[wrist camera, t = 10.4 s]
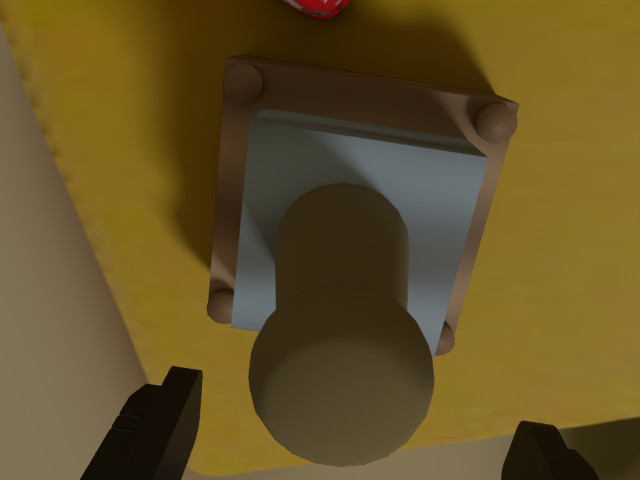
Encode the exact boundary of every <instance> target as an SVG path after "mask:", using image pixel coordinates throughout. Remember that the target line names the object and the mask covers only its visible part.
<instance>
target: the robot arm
mask: <svg viewBox="0 0 640 480" xmlns="http://www.w3.org/2000/svg"><path fill="white" fill-rule="evenodd" d="M202 379H203V373H202V370H195V369H189V368H182V367H176V366H172V367H171V368H170V370H169V372H168V374H167V376H166V378H165V379H164V381H163V383H162V385H161V386H158V385H152V384H145V385H144V386H143V387H141V388H140V389H139V390H137V391H136V392H135V393H133V394H132V395H131V396H130V397H129V398H128V400H127V402H126V403H125V405H124V406H123V408H122V410H121V412H120V415H119V416H118V417H117V418H116V420H115V422H114V423H113V425H112V428H111V429H110V430H109V432H108V433H107V435H106V437H105V438H104V440H103V442H102V443H101V445H100V447H99V448H98V450H97V452H96V453H95V455H94V457H93V458H92V460H91V462H90V464H89V465H88V467H87V468H86V470H85V472H84V474H83V475H82V477H81V479H80V480H181V478H182V475H183V473H184V470H185V468H186V465H187V462H188V459H189V457H190V454H191V451H192V449H193V446H194V443H195V440H196V436H197V432H198V427H199V420H200V407H201V393H202ZM501 480H599V478H598V476H597V474H596V473H595V471H594V469H593V467H592V466H590V464H589V463H588V462H586V460H585V459H584V458H583V457H582V456H581V455H580V454H579V453H578V452H577V451H576V450H572V449H568V448H567V447H566V444H565V443H564V441H563V439H562V437H561V435H560V433H559V431H558V429H557V428H556V427H555V426H554V425H549V424H543V423H536V422H530V421H521V422H520V423H519V425H518V427H517V429H516V432H515V435H514V438H513V440H512V443H511V446H510V448H509V451H508V454H507V456H506V459H505V462H504V465H503V468H502V475H501Z"/></svg>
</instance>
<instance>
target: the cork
mask: <svg viewBox="0 0 640 480" xmlns="http://www.w3.org/2000/svg"><path fill="white" fill-rule="evenodd" d="M408 276H409V241H408V231H407V227H406V225H405V223H404V221H403V219H402V217H401V215H400V213H399V211H398V210H397V209H396V208H395V207H394V206H393V205H392V204H391V203H390V202H389V201H388V200H387V199H386V198H385V197H384V196H383V195H381V194H379V193H377V192H375V191H373V190H371V189H369V188H367V187H365V186H361V185H354V184H348V183H336V184H330V185H323V186H319V187H317V188H315V189H313V190H311V191H309V192H307V193H305V194H303V195H301V196H300V197H299V198H298V199H297V200H296V201H295V202H294V203H293V204H292V205H291V206H290V207H289V208H288V209H287V210H286V212H285V214H284V216H283V218H282V220H281V222H280V224H279V225H278V227H277V235H276V242H275V288H276V310H275V311H274V312H273V313H272V314H271V315H270V316H269V317H268V318H267V320H266V321H265V323H264V325H263V327H262V329H261V331H260V333H259V334H258V336H257V338H256V340H255V343H254V346H253V349H252V352H251V359H250V367H249V376H248V378H249V387H250V392H251V396H252V400H253V404H254V408H255V412H256V413H257V415H258V416H259V418H260V419H261V421H262V422H263V424H264V425H265V426H266V428H267V429H268V431H269V432H270V434H271V435H272V436H273V438H274V439H275V440H276V441H277V442H278V443H280V444H281V445H282V446H284V447H285V448H286V449H287V450H289V451H290V452H291V453H292V454H294V455H297V456H299V457H301V458H304V459H306V460H309V461H311V462H313V463H316V464H323V465H331V466H337V467H345V466H355V465H365V464H368V463H371V462H373V461H376V460H379V459H382V458H385V457H387V456H389V455H390V454H391V453H393V452H394V451H396V450H397V449H398V448H400V447H401V446H403V445H404V444H405V443H406V442H407V441H408V440H409V439H410V437H411V436H412V435H413V433H414V432H415V431H416V429H417V428H418V427H419V425H420V424H421V423H422V421H423V420H424V418H425V417H426V415H427V412H428V408H429V405H430V401H431V398H432V394H433V388H434V372H433V362H432V355H431V351H430V348H429V345H428V343H427V341H426V339H425V337H424V335H423V333H422V331H421V329H420V327H419V325H418V323H417V321H416V320H415V319H414V318H413V317H412V316H411V315H410V313H409V312H407V308H408Z"/></svg>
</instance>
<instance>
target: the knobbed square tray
mask: <svg viewBox="0 0 640 480" xmlns="http://www.w3.org/2000/svg"><path fill="white" fill-rule="evenodd" d="M223 88H224V95H223V108H222V122H221V136H220V149H219V163H218V177H217V190H216V204H215V218H214V231H213V245H212V259H211V272H210V286H209V300H208V304H207V315H208V316H210V318H211V319H212V320H214V321H215V322H217V323H221V324H229V323H231V328H236V329H243V330H250V331H257V332H260V331H261V329H262V327H263V325H264V323H265V321H266V320H267V318H268V317H269V316H270V315H271V314H272V313H273V312H274V311H275V310H276V288H275V242H276V235H277V227H278V225H279V224H280V222H281V220H282V218H283V216H284V214H285V212H286V210H287V209H288V208H289V207H290V206H291V205H292V204H293V203H294V202H295V201H296V200H297V199H298V198H299V197H300V196H301V195H303V194H305V193H307V192H309V191H311V190H313V189H315V188H317V187H319V186H323V185H330V184H336V183H348V184H354V185H361V186H365V187H367V188H369V189H371V190H373V191H375V192H377V193H379V194H381V195H383V196H384V197H385V198H386V199H387V200H388V201H389V202H390V203H391V204H392V205H393V206H394V207H395V208H396V209H397V210H398V211H399V213H400V215H401V217H402V219H403V221H404V223H405V225H406V227H407V231H408V241H409V276H408V308H407V312H409V313H410V315H411V316H412V317H413V318H414V319H415V320H416V321H417V323H418V325H419V327H420V329H421V331H422V333H423V335H424V337H425V339H426V341H427V343H428V345H429V348H430V351H431V355H432V358H434V356H435V355H437V356H438V355H444V354H446V353H448V352H449V351H451V349H452V348H453V347H454V344H455V338H454V333H455V329H456V326H457V322H458V319H459V315H460V312H461V308H462V305H463V301H464V298H465V294H466V290H467V287H468V283H469V280H470V276H471V273H472V269H473V266H474V262H475V259H476V255H477V252H478V248H479V245H480V241H481V238H482V234H483V231H484V227H485V224H486V220H487V217H488V213H489V209H490V206H491V202H492V199H493V195H494V192H495V188H496V185H497V181H498V178H499V174H500V171H501V167H502V164H503V160H504V157H505V153H506V150H507V146H508V143H509V139H510V138H511V137H512V135H513V134H514V132H515V130H516V128H517V117H516V114H517V111H518V107H519V104H518V103H516V102H513V101H511V100H509V99H506V98H504V97H501V96H499V95H496V94H490V93H483V92H477V91H471V90H464V89H458V88H451V87H445V86H439V85H432V84H426V83H419V82H413V81H407V80H400V79H394V78H387V77H381V76H375V75H368V74H362V73H356V72H349V71H343V70H336V69H330V68H324V67H317V66H311V65H304V64H298V63H292V62H285V61H279V60H272V59H266V58H260V57H253V56H247V55H238V56H234V57H229V58H226V68H225V76H224V79H223Z"/></svg>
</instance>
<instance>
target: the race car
mask: <svg viewBox="0 0 640 480" xmlns="http://www.w3.org/2000/svg"><path fill="white" fill-rule="evenodd" d="M283 1H284V2H286V3H287V4H288V5H290V6H291V7H292V8H294V9H296V10H298V11H299V12H301V13H302V14H304V15H306V16H308V17H311V18H314V19H319V20H326V19H329V18H332V17H334V16H335V15H336V16H338V15H339V12H341V11H342V9H343V8H344V7H345V6H346V5H347V4H348V3H349V1H350V0H283Z"/></svg>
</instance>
